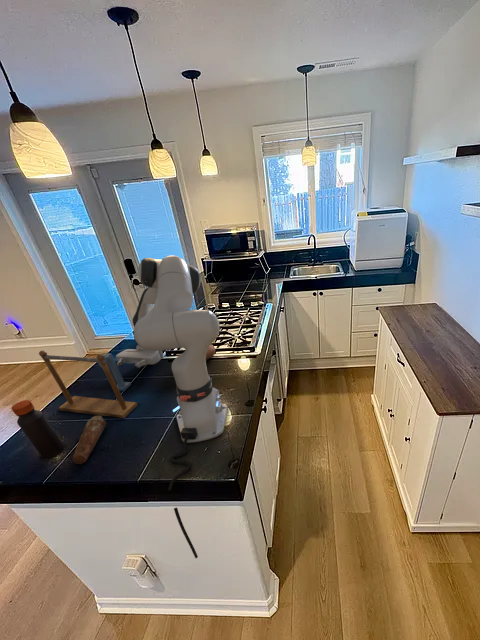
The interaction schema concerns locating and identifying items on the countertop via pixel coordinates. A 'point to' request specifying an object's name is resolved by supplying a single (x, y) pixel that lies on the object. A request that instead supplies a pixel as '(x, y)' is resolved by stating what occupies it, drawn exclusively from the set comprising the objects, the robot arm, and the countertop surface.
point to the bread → (89, 439)
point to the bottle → (37, 429)
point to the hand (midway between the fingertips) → (127, 365)
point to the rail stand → (85, 403)
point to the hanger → (116, 372)
